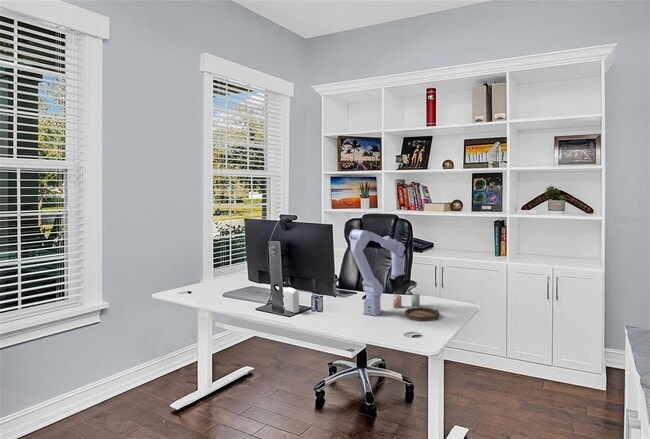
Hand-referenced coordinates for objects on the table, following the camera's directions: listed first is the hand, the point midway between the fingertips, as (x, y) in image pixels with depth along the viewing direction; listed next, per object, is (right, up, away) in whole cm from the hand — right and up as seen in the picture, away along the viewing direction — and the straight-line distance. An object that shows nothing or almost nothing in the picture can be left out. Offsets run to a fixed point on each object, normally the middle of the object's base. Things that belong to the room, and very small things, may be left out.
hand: (397, 289), depth 243 cm
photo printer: (-56, -11, -2) cm, 57 cm away
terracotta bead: (0, -9, +1) cm, 9 cm away
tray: (+10, -11, -15) cm, 21 cm away
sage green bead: (+10, -9, +2) cm, 14 cm away
